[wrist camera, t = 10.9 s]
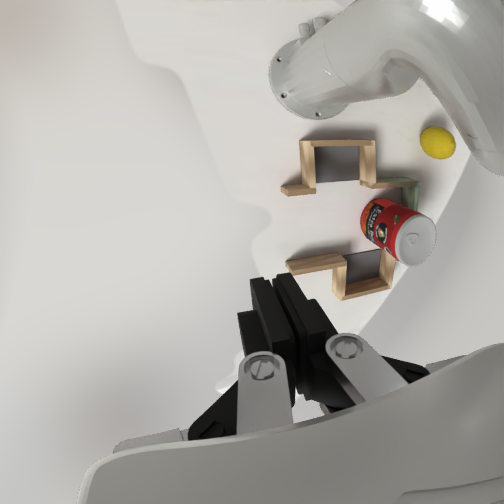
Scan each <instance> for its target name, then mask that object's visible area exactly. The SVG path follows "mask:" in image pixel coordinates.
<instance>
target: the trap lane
mask: <svg viewBox="0 0 504 504" xmlns="http://www.w3.org/2000/svg"><path fill="white" fill-rule="evenodd" d="M299 146H300V160H301V176H302V184H298V185H288V186H281V192H282V193H284V194H285V195H287V196H297V195H307V194H316V183H323V182H336V181H351V180H359V160H360V185H362V186H365V187H368V188H371V189H376V188H392V187H402V206H405V207H407V208H409V209H412V210H414V211H416V212H417V206H418V188H419V181H416V180H412V179H409V178H383V179H376V150H375V140H359V139H337V140H303V141H299ZM380 257H381V259H380ZM286 267H287V269H288V270H289V272H290V273H291V274H292V276H294V275H300V274H305V273H311V272H316V271H322V270H327V269H332V268H333V278H332V291H333V293H334V294H335V295H336V297H337V298H338V299H339V300H340V301H342V300H347V299H351V298H355V297H359V296H363V295H367V294H371V293H375V292H379V291H383V290H387V289H390V288H391V287H392V281H393V274H394V267H395V258H394V257H393V256H391V255H390V254H388V253H387V252H386V251H384V250H383V249H378V250H373V251H367V252H362V253H356V254H351V255H345V256H341V255H340V254H339V253H338V252H337V253H331V254H326V255H320V256H314V257H308V258H302V259H296V260H290V261H286ZM379 267H380V269H379ZM378 275H379V277H378Z"/></svg>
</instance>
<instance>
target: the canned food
mask: <svg viewBox="0 0 504 504" xmlns="http://www.w3.org/2000/svg"><path fill="white" fill-rule="evenodd" d="M360 224H361V229H362V231H363V233H364V235H365V236H366V238H367V239H369V240H370V241H372V242H373V243H374V244H376V245H377V246H379V247H380V248H381V249H383V250H384V251H386V252H387V253H388V254H390V255H391V256H393V257H394V258H395V259H397V260H398V261H400V262H401V263H402V264H405V265H406V266H410V267H413V266H417V265H420V264H421V263H423V262H424V261H425V260H426V259H427V258H428V257H429V256H430V254H431V253H432V251H433V249H434V246H435V243H436V234H437V233H436V228H435V225H434V223H433V221H432V220H431V219H430V218H428V217H427V216H425V215H423V214H421V213H419V212H416V211H414V210H412V209H409V208H407V207H405V206H402V205H400V204H398V203H395V202H393V201H390V200H387V199H376V200H373V201H371V202H370V203H369V204H368V205H367V206H366V207H365V208H364V210H363V212H362V215H361V220H360Z"/></svg>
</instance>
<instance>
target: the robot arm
mask: <svg viewBox="0 0 504 504" xmlns="http://www.w3.org/2000/svg"><path fill="white" fill-rule="evenodd" d="M312 21H313V26H314V30H315V34H314V35H312V36H311V37H310V34H309V32H310V31H309V25H308V24H307V23H301V24H299V31H300V35H301V38H299V40H297V41H293V42H291V43H289V44H286V45H285V46H284V47H282V48H281V49H280V50H279V51H278V52H277V53H276V55H275V56H274V58H273V59H272V62H271V65H270V70H269V79H270V85H271V88H272V91H273V92H274V94H275V96H276V98H277V99H278V100H279V102H280V103H281V104H282V105H283V106H284V107H285V108H286V109H287V110H289V111H290V112H292V113H294V114H295V115H298V116H300V117H302V118H306V119H312V120H320V119H327V118H331V117H333V116H335V115H337V114H339V113H340V112H341V111H343V110H344V109H345V107H346V106H347V105H348V104H349V103H355V102H361V101H367V100H374V99H381V98H386V97H393V96H397V95H400V94H402V93H404V92H406V91H407V90H409V89H410V88H411V87H412V86H413V85H414V84H415V83H416V81H417V80H418V78H419V76H420V77H421V78H422V80H423V81H424V82H425V83H426V84H427V86H428V87H429V88H430V90H431V91H432V93H433V94H434V95H435V96H436V97H437V98H438V100H439V101H440V102H441V104H442V105H443V107H444V108H445V110H446V111H447V113H448V115H449V116H450V118H451V119H452V121H453V123H454V124H455V126H456V128H457V129H458V131H459V133H460V134H461V136H462V138H463V140H464V141H465V143H466V145H467V146H468V148H469V150H470V151H471V153H472V154H473V156H474V157H475V158H476V160H477V161H478V162H479V163H480V164H481V165H482V166H483V167H484V168H486V169H487V170H489V171H491V172H492V173H495V174H497V175H501V176H504V0H355V1H354V2H353V3H352V4H351V5H349V6H348V7H347V8H346V9H345V10H343V11H342V12H341V13H340V14H338V15H337V16H336V17H334V18H333V19H332V20H331V21H330V22H328V23H327V24H326V19H325V18H321V17H319V18H314V19H313V20H312ZM277 60H280V62H278V61H277ZM281 95H283V96H284V98H282V97H281ZM316 113H317V114H318V115H317V116H316ZM272 285H273V287H272ZM272 285H271V283H270V281H269V280H264V278H263V277H260V278H254V279H250V287H251V295H252V305H253V310H251V311H246V312H240V313H237V315H238V322H239V328H240V334H241V339H242V345H243V350H244V355H245V358H244V359H243V360H242V361H241V363H240V365H239V373H238V380H237V381H236V382H235V383H234V384H233V385H232V386H231V387H230V388H229V389H228V390H227V391H226V392H225V393H224V394H223V395H222V396H221V397H220V398H219V399H218V400H217V401H216V402H215V403H214V404H213V405H212V406H211V407H210V408H209V409H208V410H207V411H205V412H204V414H202V415H201V416H200V417H199V418H198V419H197V420H196V421H195V422H194V423H193V424H192V425H191V427H190V428H189V429H186V430H182V431H180V429H179V428H178V429H174V430H170V431H166V432H162V433H157V434H153V435H149V436H144V437H139V438H134V439H128V440H125V441H122V442H120V443H119V444H118V445H117V446H116V447H115V449H114V450H113V454H111V455H108V456H106V457H104V458H102V459H100V460H98V461H96V462H95V463H94V464H92V465H91V467H90V468H89V469H88V470H87V472H86V474H85V475H84V478H83V480H82V483H81V486H80V489H79V493H78V498H77V503H76V504H504V343H499V344H494V345H491V346H487V347H484V348H482V349H479V350H477V351H474V352H472V353H470V354H468V355H463V356H458V357H455V358H451V359H447V360H443V361H439V362H436V363H431V364H427V365H426V366H425V368H424V367H423V366H420V365H417V364H413V363H409V362H404V361H400V360H397V359H393V358H389V357H385V356H381V355H379V354H378V353H377V352H376V351H375V350H374V349H373V348H372V347H371V346H370V345H369V344H368V343H367V342H366V341H365V340H364V339H363V338H361V337H360V336H358V335H355V334H351V333H341V334H338V332H337V331H336V329H335V328H334V326H333V325H332V323H331V322H330V320H329V319H328V317H327V315H326V314H325V312H324V311H323V309H322V308H321V306H320V305H319V303H318V302H317V301H316V299H310V300H307V298H306V297H305V295H304V293H303V292H302V290H301V289H300V287H299V285H298V284H297V282H296V281H295V279H294V277H293V276H292V274H291V273H290V272H289V273H283V274H277V276H276V278H274V279H272ZM295 387H296V389H297V392H298V394H299V395H300V394H304V397H305V399H306V401H308V400H314V401H317V402H319V404H320V408H321V410H322V411H323V413H324V414H325V415H324V416H321V417H317V418H314V419H310V420H306V421H303V422H299V423H295V424H293V417H292V407H293V406H294V404H295Z"/></svg>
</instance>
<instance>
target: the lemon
mask: <svg viewBox="0 0 504 504" xmlns="http://www.w3.org/2000/svg"><path fill="white" fill-rule="evenodd" d="M420 143H421V147H422V149H423V150H424V152H425V153H426V154H427V155H429V156H430V157H432V158H436V159H446V158H449V157H450V156H452V154H453V153H454V151H455V148H456V143H455V140H454V137H453V136H452V134H451V133H450V132H449V131H447V130H445V129H443V128H441V127H430V128H427V129H426V130H424V131H423V133H422V135H421V138H420Z"/></svg>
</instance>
